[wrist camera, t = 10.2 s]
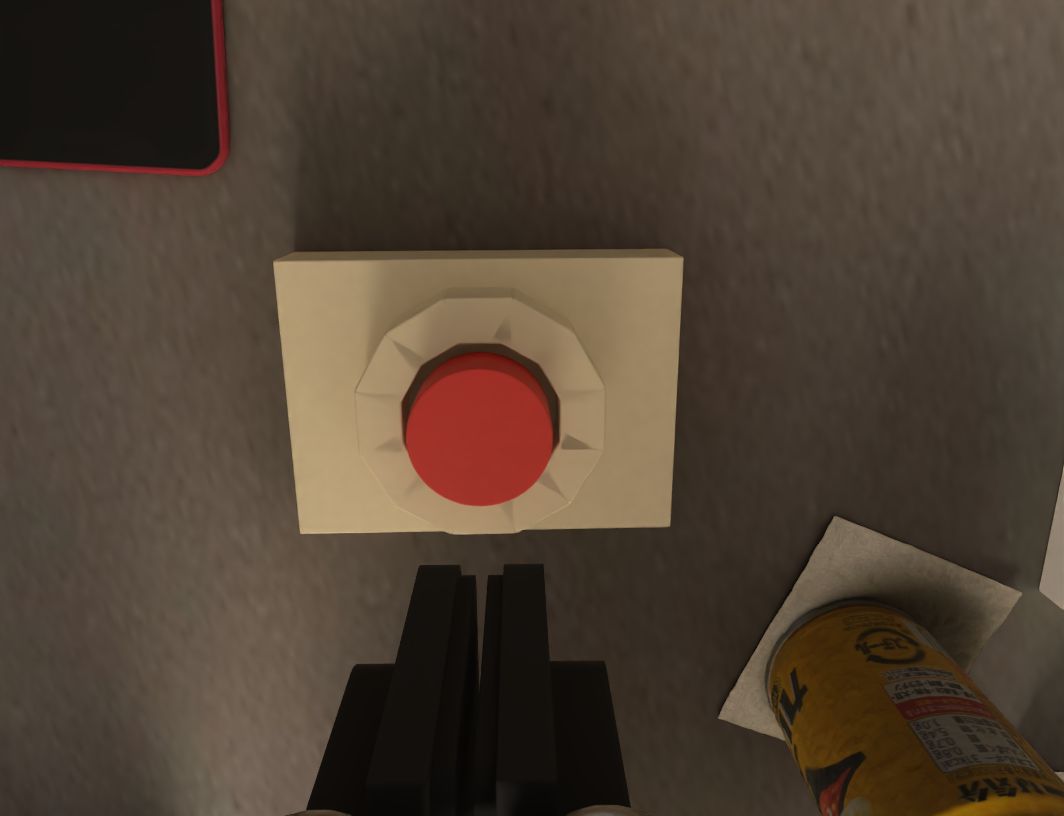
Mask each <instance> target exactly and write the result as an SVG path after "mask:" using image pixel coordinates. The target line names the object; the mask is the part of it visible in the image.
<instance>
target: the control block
mask: <svg viewBox="0 0 1064 816" xmlns="http://www.w3.org/2000/svg"><path fill="white" fill-rule="evenodd" d="M683 260H684V258H683V257H682V256H680V255H678V254H676V253H674V252H672V251H670V250H669V249H575V250H457V251H339V252H293V253H291V254H289V255H286V256H284V257H281V258H279V259H277V260H274V261H273V266H274V276H275V286H276V296H277V306H278V316H279V327H280V337H281V347H282V357H283V367H284V377H285V387H286V397H287V407H288V417H289V427H290V437H291V447H292V457H293V467H294V478H295V488H296V498H297V508H298V518H299V528H300V533H301V534H314V533H368V532H422V531H446V532H448V533H450V534H504V533H515V532H516V533H518V532H520V531H522V530H530V529H584V528H638V527H670V520H671V500H672V480H673V460H674V440H675V420H676V400H677V380H678V360H679V340H680V320H681V300H682V280H683ZM472 352H490V353H496V354H500V355H503V356H506V357H509V358H511V359H513V360H515V361H517V362H518V363H520V364H521V365H523V366H524V367H525V368H526V369H528V370H529V371H530V372H531V373H532V374H533V375H534V376H535V378H536V379H537V380H538V382H539V383H540V385H541V387H542V389H543V390H544V392H545V395H546V398H547V401H548V406H549V411H550V417H551V422H552V428H553V447H552V452H551V456H550V459H549V462H548V464H547V466H546V468H545V470H544V472H543V473H542V475H541V476H540V478H539V479H538V480H537V481H536V482H535V483H534V485H533V486H532V487H530V488H529V489H528V490H527V491H526V492H524V493H523V494H521V495H520V496H518V497H516V498H514V499H512V500H510V501H507V502H504V503H501V504H497V505H492V506H482V507H481V506H468V505H463V504H459V503H456V502H453V501H450V500H448V499H446V498H444V497H442V496H441V495H439V494H437V493H436V492H434V491H433V490H432V489H431V488H429V487H428V486H427V485H426V484H425V483H424V482H423V481H422V479H421V478H420V477H419V475H418V474H417V472H416V471H415V469H414V467H413V465H412V463H411V461H410V458H409V455H408V451H407V445H406V428H407V421H408V418H409V415H410V412H411V409H412V407H413V404H414V401H415V399H416V396H417V394H418V391H419V389H420V387H421V385H422V384H423V382H424V381H425V379H426V378H427V377H428V376H429V374H430V373H431V372H432V371H433V370H434V369H436V368H437V367H438V366H439V365H441V364H442V363H444V362H445V361H447V360H449V359H451V358H453V357H456V356H459V355H462V354H466V353H472Z"/></svg>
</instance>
